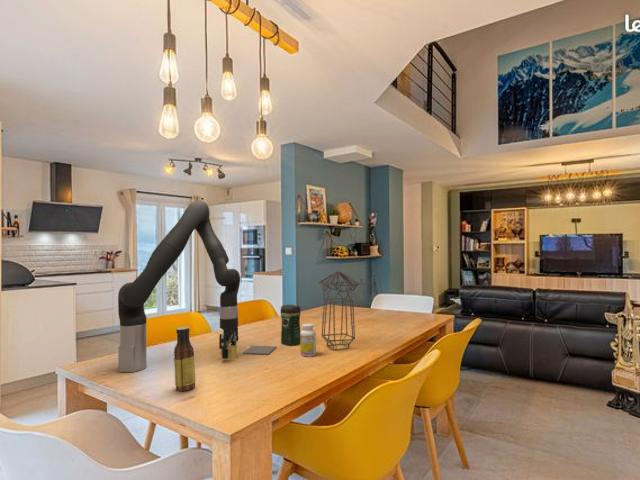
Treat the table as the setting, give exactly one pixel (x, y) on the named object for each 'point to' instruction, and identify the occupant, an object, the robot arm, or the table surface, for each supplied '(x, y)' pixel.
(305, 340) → the supplement bottle
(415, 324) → the table surface
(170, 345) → the table surface
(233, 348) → the cube
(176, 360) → the sauce bottle
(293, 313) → the coffee jar
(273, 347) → the coaster
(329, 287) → the geometric lantern
